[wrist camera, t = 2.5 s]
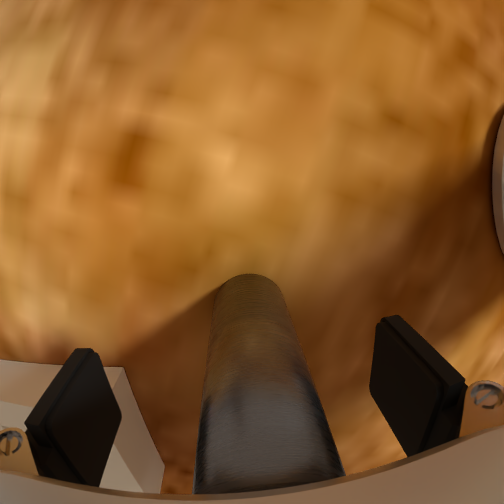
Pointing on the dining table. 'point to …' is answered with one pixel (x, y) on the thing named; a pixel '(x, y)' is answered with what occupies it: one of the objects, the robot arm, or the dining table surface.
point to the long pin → (259, 399)
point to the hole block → (127, 438)
